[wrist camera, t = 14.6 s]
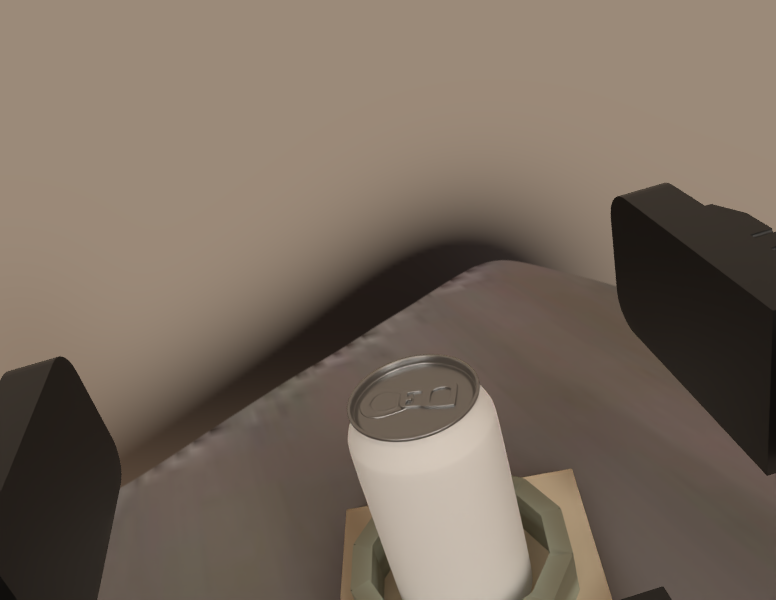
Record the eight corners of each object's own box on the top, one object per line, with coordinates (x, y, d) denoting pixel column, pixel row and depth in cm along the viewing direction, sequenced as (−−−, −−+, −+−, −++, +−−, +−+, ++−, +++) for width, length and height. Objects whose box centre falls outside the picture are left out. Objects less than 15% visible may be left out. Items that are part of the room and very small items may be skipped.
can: (411, 538, 40) (352, 357, 34) (533, 531, 38) (492, 339, 33) (395, 648, 34) (320, 454, 29) (536, 645, 33) (487, 439, 27)
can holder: (338, 750, 32) (313, 699, 30) (352, 524, 44) (334, 477, 42) (642, 706, 31) (634, 651, 29) (574, 484, 42) (566, 434, 40)
